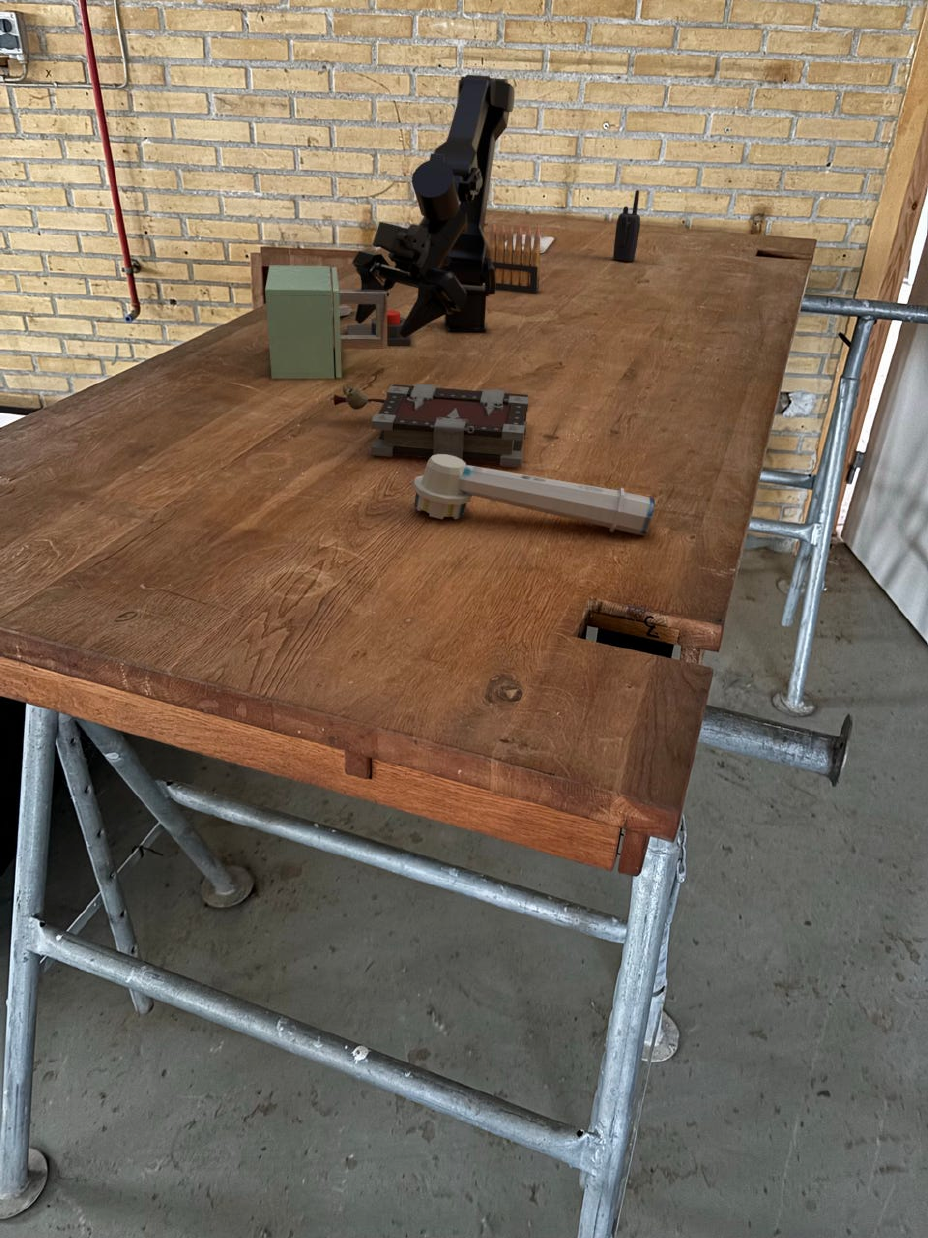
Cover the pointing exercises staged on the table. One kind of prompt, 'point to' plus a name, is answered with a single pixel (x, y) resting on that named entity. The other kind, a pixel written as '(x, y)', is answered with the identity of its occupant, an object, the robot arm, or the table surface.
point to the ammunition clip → (515, 261)
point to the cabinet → (300, 322)
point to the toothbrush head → (527, 495)
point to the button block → (392, 332)
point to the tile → (544, 242)
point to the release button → (393, 317)
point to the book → (447, 422)
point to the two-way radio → (627, 233)
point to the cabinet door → (358, 340)
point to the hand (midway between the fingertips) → (379, 328)
